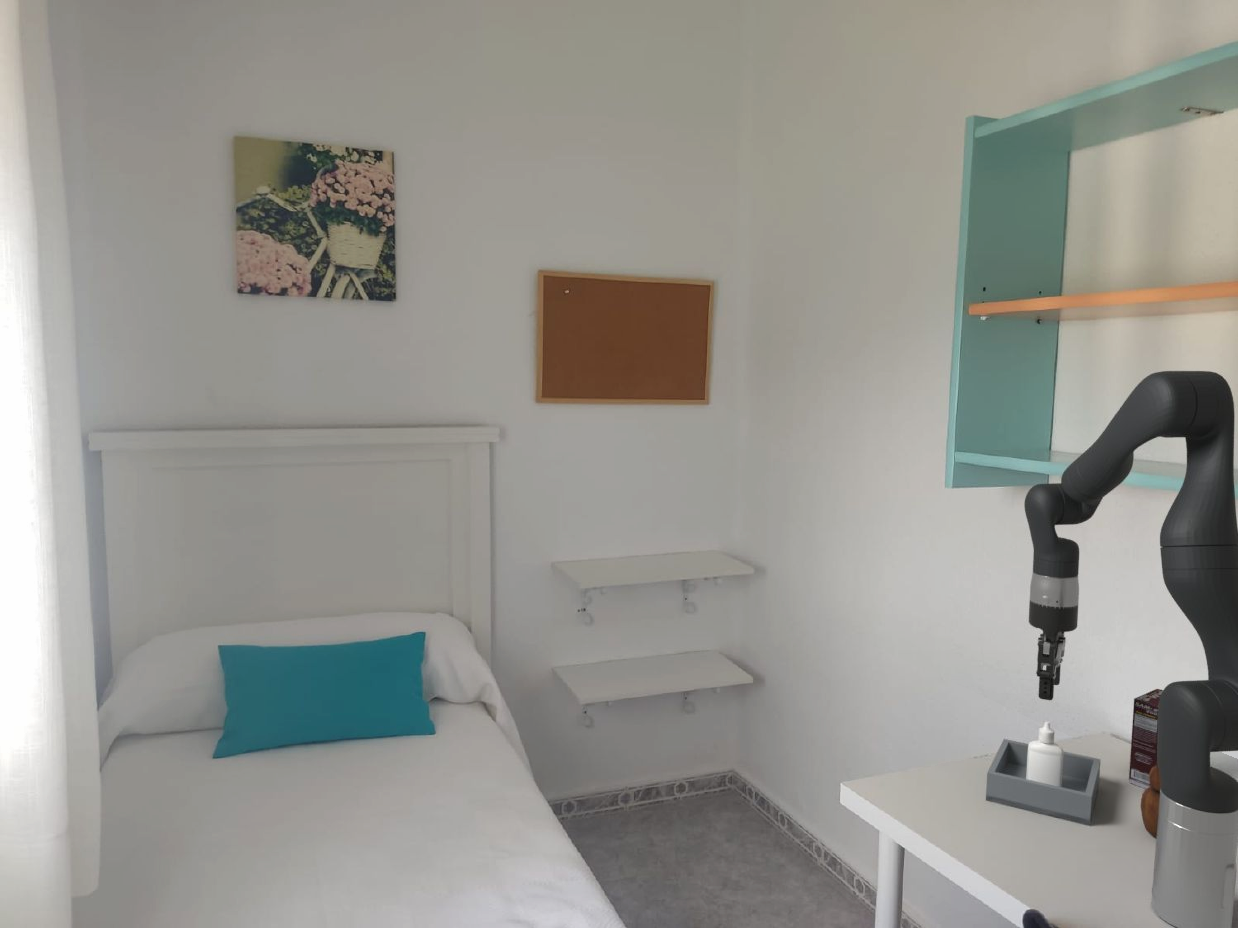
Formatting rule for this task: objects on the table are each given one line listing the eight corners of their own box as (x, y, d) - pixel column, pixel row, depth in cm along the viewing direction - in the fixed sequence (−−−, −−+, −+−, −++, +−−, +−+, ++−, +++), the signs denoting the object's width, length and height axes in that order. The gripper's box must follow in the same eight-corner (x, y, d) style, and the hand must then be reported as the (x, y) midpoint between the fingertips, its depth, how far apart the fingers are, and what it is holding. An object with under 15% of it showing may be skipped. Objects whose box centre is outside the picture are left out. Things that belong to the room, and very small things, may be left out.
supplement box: (1150, 769, 168) (1156, 687, 166) (1178, 780, 164) (1185, 695, 162) (1126, 782, 163) (1132, 697, 161) (1154, 793, 159) (1161, 706, 157)
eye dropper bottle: (1051, 797, 156) (1055, 730, 154) (1021, 784, 160) (1024, 719, 159) (1065, 790, 158) (1069, 724, 157) (1035, 778, 163) (1039, 714, 161)
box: (1098, 785, 162) (1100, 759, 161) (1089, 825, 149) (1091, 796, 148) (1002, 764, 171) (1003, 738, 170) (985, 800, 157) (987, 772, 157)
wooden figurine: (1190, 847, 142) (1197, 756, 140) (1149, 844, 143) (1156, 753, 141) (1173, 825, 149) (1180, 738, 147) (1134, 822, 150) (1140, 735, 148)
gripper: (1073, 612, 147) (1068, 709, 149) (1082, 593, 159) (1077, 682, 161) (1023, 605, 151) (1018, 700, 153) (1036, 587, 163) (1031, 675, 165)
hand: (1049, 691), depth 157 cm, fingers open, 8 cm apart
